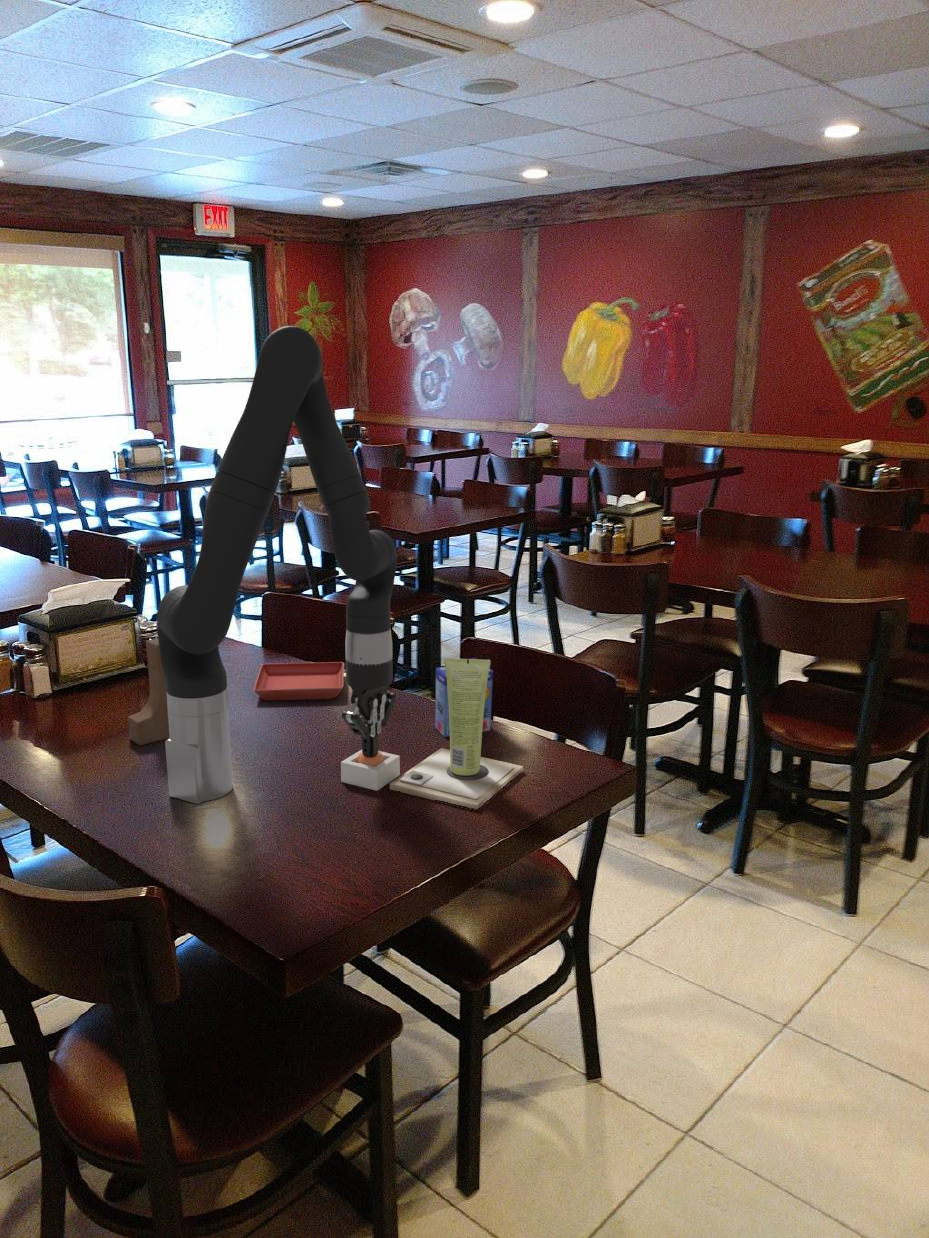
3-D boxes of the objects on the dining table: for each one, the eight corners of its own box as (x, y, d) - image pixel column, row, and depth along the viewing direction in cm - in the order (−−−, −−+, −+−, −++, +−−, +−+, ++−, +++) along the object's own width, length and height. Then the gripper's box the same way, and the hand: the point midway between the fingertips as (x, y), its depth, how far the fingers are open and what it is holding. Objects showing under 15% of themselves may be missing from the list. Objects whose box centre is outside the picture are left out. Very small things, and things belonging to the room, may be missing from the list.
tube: (470, 761, 166) (471, 652, 161) (489, 771, 162) (490, 659, 157) (443, 769, 162) (444, 657, 157) (462, 779, 158) (463, 665, 154)
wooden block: (139, 746, 174) (131, 650, 169) (128, 739, 177) (120, 644, 172) (186, 734, 180) (179, 641, 175) (175, 727, 183) (168, 635, 178)
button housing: (376, 790, 157) (376, 770, 156) (341, 781, 160) (340, 762, 160) (399, 775, 163) (399, 755, 162) (364, 766, 166) (364, 747, 166)
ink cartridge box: (444, 738, 179) (444, 663, 175) (433, 728, 184) (433, 655, 180) (493, 731, 183) (494, 657, 179) (480, 721, 188) (482, 649, 184)
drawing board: (477, 811, 151) (477, 802, 150) (389, 789, 158) (389, 780, 157) (523, 771, 165) (523, 763, 165) (441, 753, 172) (441, 745, 172)
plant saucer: (261, 677, 213) (261, 662, 212) (344, 675, 215) (344, 660, 214) (253, 705, 196) (252, 690, 195) (343, 703, 198) (343, 687, 197)
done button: (374, 781, 159) (373, 762, 158) (353, 776, 161) (353, 757, 160) (387, 773, 162) (387, 753, 162) (367, 768, 164) (367, 748, 163)
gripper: (365, 670, 149) (367, 774, 153) (410, 648, 160) (410, 746, 165) (325, 662, 152) (328, 765, 157) (372, 642, 164) (373, 738, 168)
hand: (370, 755), depth 161 cm, fingers closed
